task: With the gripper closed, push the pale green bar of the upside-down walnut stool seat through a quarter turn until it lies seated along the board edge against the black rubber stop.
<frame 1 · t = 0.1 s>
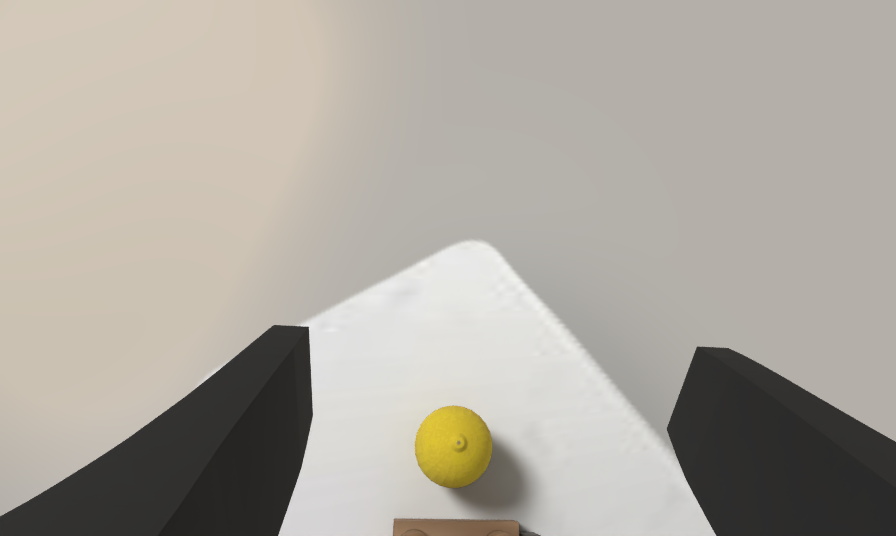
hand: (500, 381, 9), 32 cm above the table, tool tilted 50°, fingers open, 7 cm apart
lemon: (448, 448, 39), on the table
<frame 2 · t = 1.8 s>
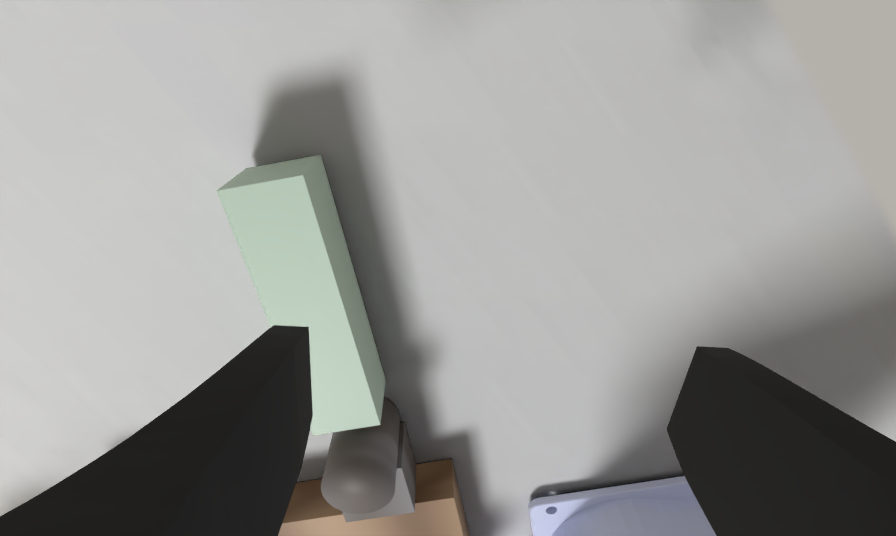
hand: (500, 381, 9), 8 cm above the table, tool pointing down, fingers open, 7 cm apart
pale green bar: (316, 303, 16), point 1 cm above the table, hinge at -90.0°
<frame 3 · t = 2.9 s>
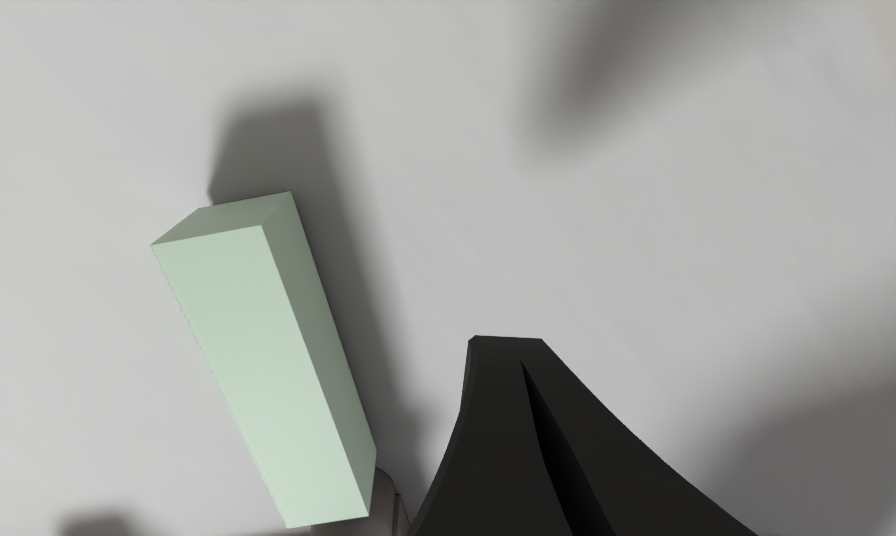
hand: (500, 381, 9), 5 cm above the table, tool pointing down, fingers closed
pale green bar: (288, 371, 13), point 2 cm above the table, hinge at -90.0°
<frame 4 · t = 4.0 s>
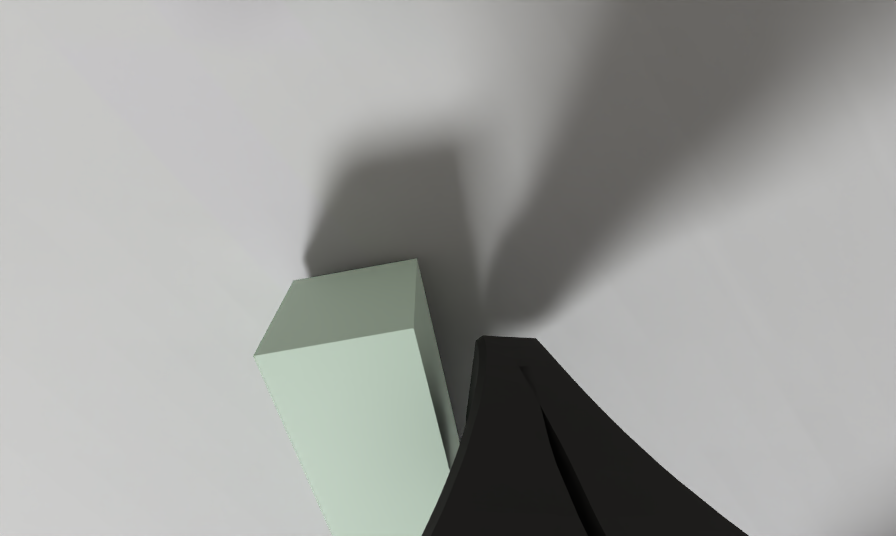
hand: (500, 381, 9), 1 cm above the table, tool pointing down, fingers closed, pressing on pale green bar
pale green bar: (403, 485, 10), point 1 cm above the table, hinge at -90.0°, touching gripper
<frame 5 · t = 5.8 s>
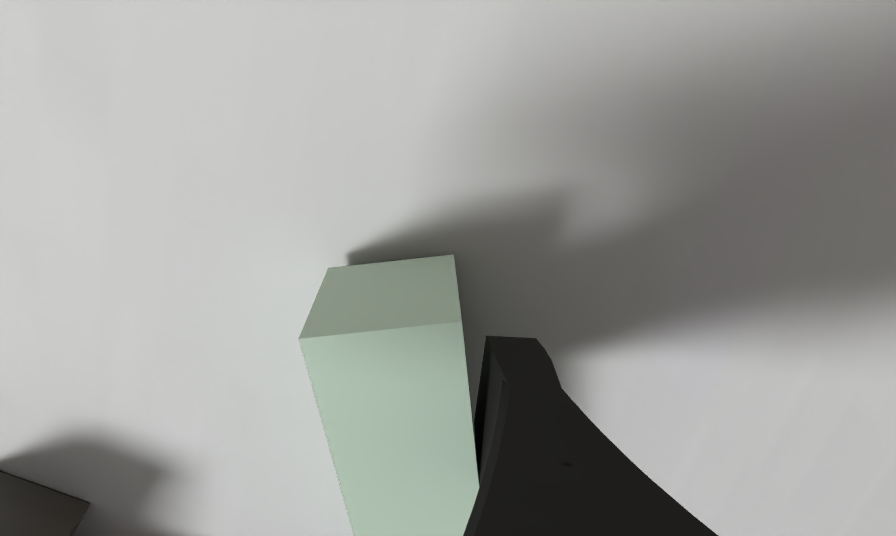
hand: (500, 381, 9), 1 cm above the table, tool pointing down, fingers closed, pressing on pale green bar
pale green bar: (419, 480, 10), point 1 cm above the table, hinge at -49.7°, touching gripper
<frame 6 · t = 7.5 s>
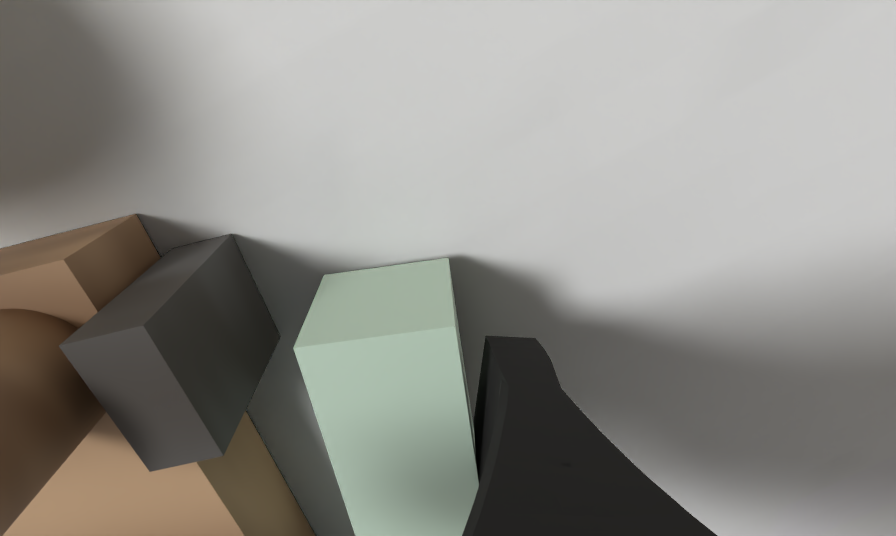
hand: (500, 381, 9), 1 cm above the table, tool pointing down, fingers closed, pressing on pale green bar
pale green bar: (422, 483, 10), point 2 cm above the table, hinge at -6.0°, touching gripper
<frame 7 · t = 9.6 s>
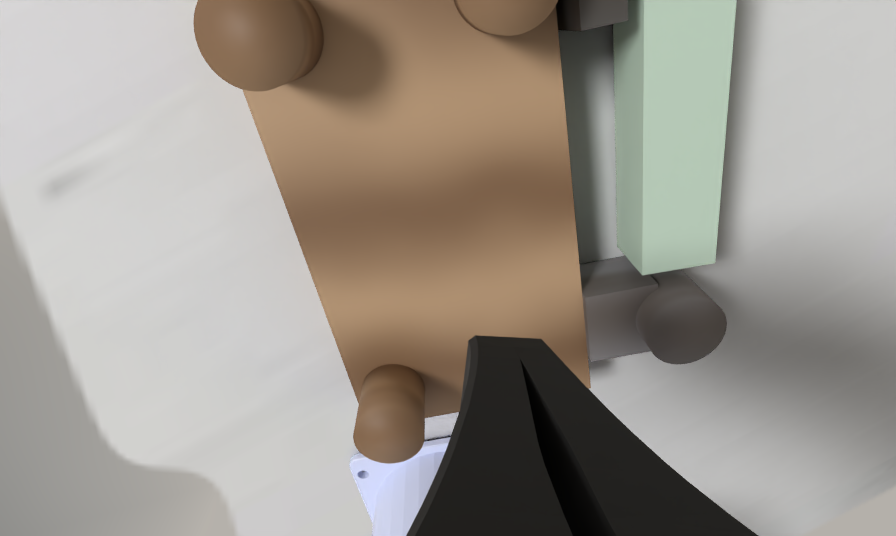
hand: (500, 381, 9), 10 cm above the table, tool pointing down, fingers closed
pale green bar: (666, 125, 15), point 1 cm above the table, hinge at -1.7°
stool seat: (434, 204, 18), on the table
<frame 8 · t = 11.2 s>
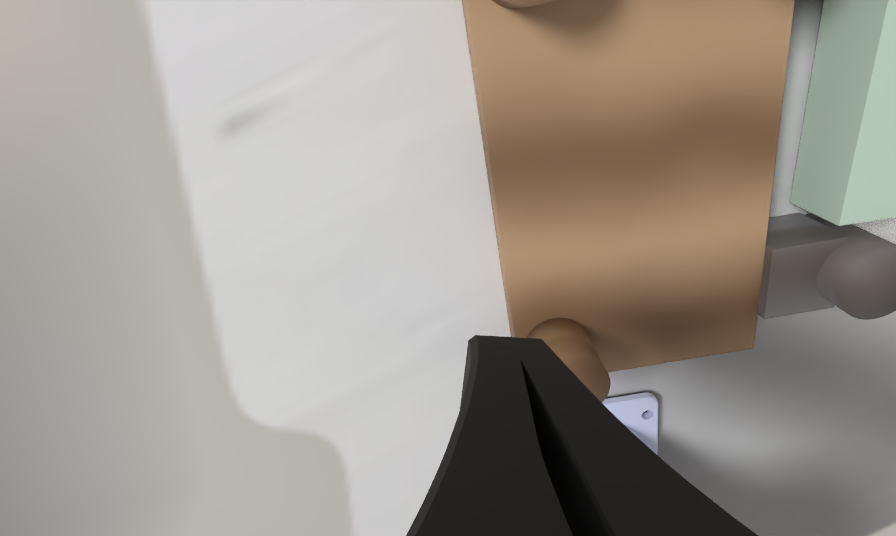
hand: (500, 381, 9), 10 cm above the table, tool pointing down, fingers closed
pale green bar: (878, 70, 15), point 2 cm above the table, hinge at -1.7°
stool seat: (613, 153, 17), on the table
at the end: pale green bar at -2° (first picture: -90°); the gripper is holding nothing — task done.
